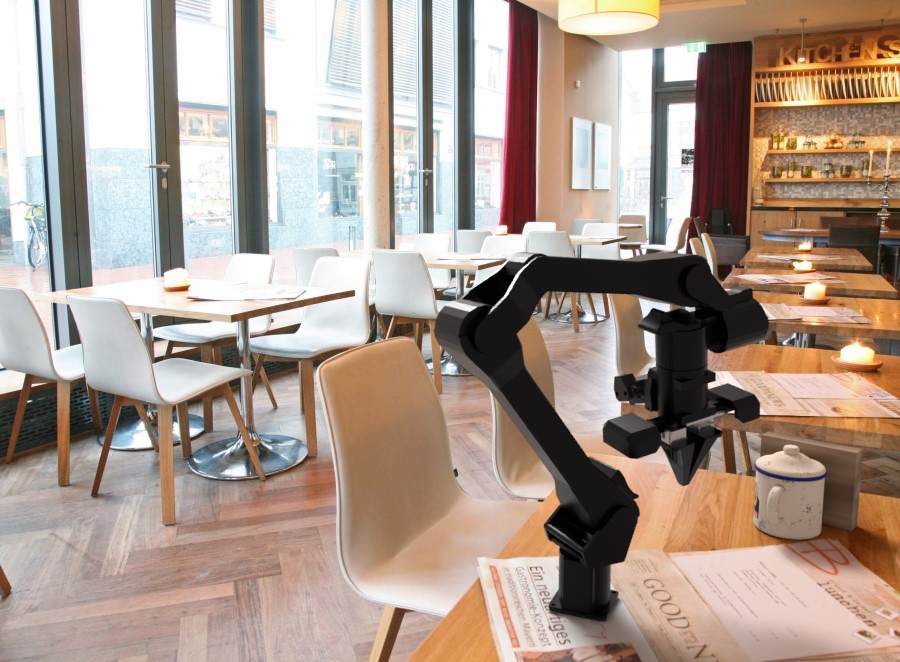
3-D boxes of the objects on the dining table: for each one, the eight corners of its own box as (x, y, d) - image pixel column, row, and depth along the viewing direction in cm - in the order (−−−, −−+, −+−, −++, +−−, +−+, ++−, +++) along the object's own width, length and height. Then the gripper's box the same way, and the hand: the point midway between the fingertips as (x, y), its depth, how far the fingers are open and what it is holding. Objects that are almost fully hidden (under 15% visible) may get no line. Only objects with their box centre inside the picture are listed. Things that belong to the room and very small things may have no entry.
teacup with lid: (764, 510, 116) (768, 433, 114) (831, 526, 110) (836, 444, 109) (734, 536, 107) (738, 453, 105) (805, 554, 101) (810, 466, 100)
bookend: (851, 530, 109) (856, 453, 107) (757, 506, 118) (761, 434, 116) (857, 525, 110) (862, 449, 109) (764, 502, 119) (768, 431, 118)
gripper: (698, 327, 101) (699, 439, 106) (572, 361, 94) (579, 479, 99) (764, 350, 91) (762, 472, 96) (630, 390, 84) (635, 519, 89)
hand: (683, 484), depth 95 cm, fingers closed
